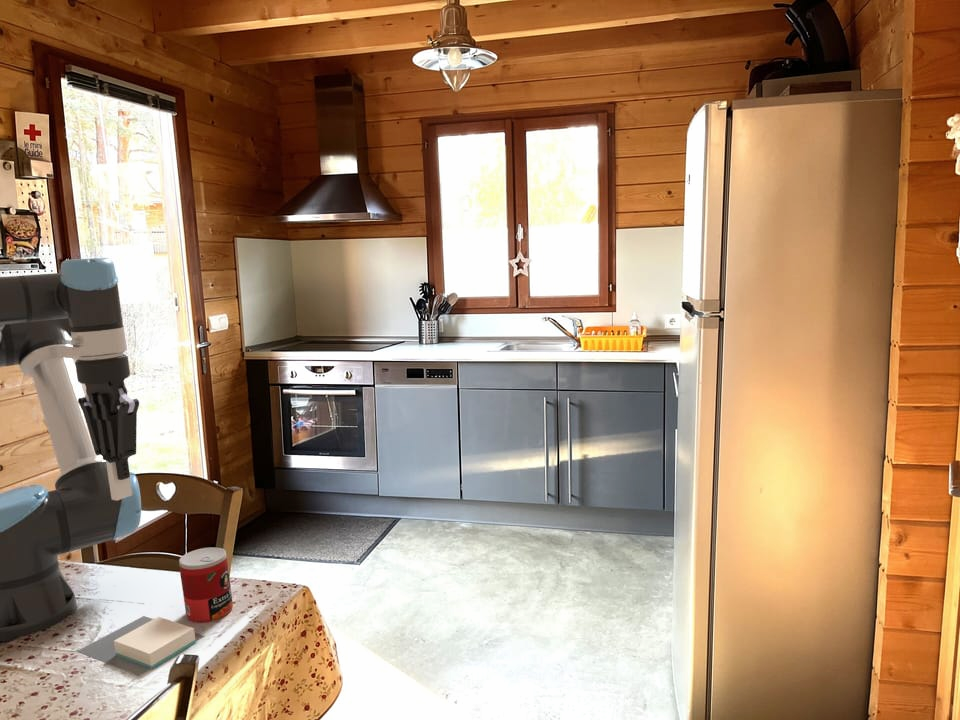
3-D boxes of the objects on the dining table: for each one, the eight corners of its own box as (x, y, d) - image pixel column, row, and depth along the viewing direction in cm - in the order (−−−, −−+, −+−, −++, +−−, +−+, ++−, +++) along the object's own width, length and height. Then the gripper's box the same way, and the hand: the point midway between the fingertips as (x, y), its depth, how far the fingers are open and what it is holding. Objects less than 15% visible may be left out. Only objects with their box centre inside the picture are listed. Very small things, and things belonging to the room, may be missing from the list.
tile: (113, 640, 112) (149, 653, 108) (158, 616, 119) (193, 628, 115) (116, 655, 113) (151, 668, 108) (160, 630, 120) (195, 642, 115)
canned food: (218, 627, 121) (210, 566, 119) (176, 625, 122) (168, 565, 121) (242, 604, 128) (235, 547, 126) (202, 602, 130) (195, 546, 128)
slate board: (77, 654, 115) (76, 651, 115) (144, 619, 125) (143, 615, 125) (139, 679, 107) (138, 675, 107) (205, 639, 117) (204, 635, 117)
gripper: (54, 358, 113) (76, 499, 117) (103, 361, 106) (125, 510, 110) (99, 351, 119) (119, 485, 123) (147, 353, 113) (167, 494, 117)
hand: (122, 497), depth 117 cm, fingers closed
